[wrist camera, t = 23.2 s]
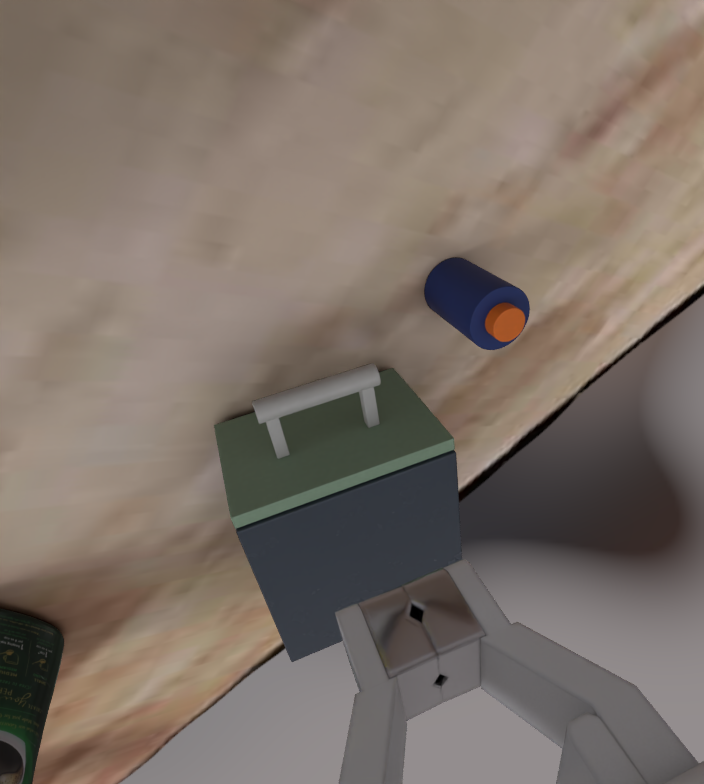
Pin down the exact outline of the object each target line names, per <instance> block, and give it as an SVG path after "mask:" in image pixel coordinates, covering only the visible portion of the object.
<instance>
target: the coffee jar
mask: <svg viewBox="0 0 704 784" xmlns="http://www.w3.org/2000/svg"><path fill="white" fill-rule="evenodd" d="M63 648H64V639H63V636H62V634H61V632H60V631H59V630H58V629H57V628H55V627H54V626H52V625H50V624H48V623H46V622H43V621H41V620H38V619H35V618H33V617H30V616H27V615H23V614H20V613H16V612H12V611H9V610H5V609H0V784H32V782H33V776H34V771H35V766H36V761H37V757H38V752H39V748H40V743H41V739H42V734H43V730H44V726H45V722H46V718H47V714H48V710H49V706H50V703H51V699H52V695H53V692H54V687H55V684H56V680H57V676H58V672H59V668H60V664H61V659H62V653H63Z"/></svg>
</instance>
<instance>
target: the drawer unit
mask: <svg viewBox="0 0 704 784" xmlns="http://www.w3.org/2000/svg"><path fill="white" fill-rule="evenodd" d="M236 533H237V535H238V538H239V540H240V542H241V545H242V547H243V549H244V552H245V554H246V556H247V559H248V561H249V563H250V566H251V568H252V570H253V573H254V575H255V577H256V580H257V582H258V585H259V587H260V589H261V592H262V594H263V596H264V599H265V601H266V603H267V606H268V608H269V610H270V613H271V615H272V617H273V620H274V622H275V624H276V627H277V629H278V631H279V634H280V636H281V638H282V641H283V643H284V645H285V648H286V650H287V653H288V655H289V657H290V660H291V661H292V662H294V661H296V660H298V659H301V658H303V657H305V656H308V655H310V654H312V653H315V652H317V651H320V650H322V649H324V648H327V647H329V646H331V645H334V644H336V643H339V642H341V641H343V640H342V636H341V633H340V629H339V626H338V623H337V619H336V616H335V612H337V611H339V610H342V609H344V608H347V607H349V606H351V605H354V604H356V603H360V602H362V601H365V600H367V599H370V598H372V597H374V596H377V595H379V594H382V593H384V592H387V591H389V590H392V589H394V588H396V587H399V586H401V585H403V584H405V583H407V582H410V581H412V580H414V579H417V578H419V577H421V576H423V575H426V574H428V573H430V572H433V571H435V570H437V569H440V568H443V567H446V566H448V565H450V564H453V563H455V562H457V561H460V560H462V551H461V535H460V534H461V533H460V515H459V496H458V478H457V460H456V452H455V451H454V450H451V451H449V452H446V453H443V454H440V455H438V456H435V457H432V458H429V459H427V460H424V461H421V462H418V463H416V464H413V465H410V466H407V467H405V468H402V469H399V470H396V471H394V472H391V473H388V474H385V475H382V476H380V477H377V478H374V479H371V480H369V481H366V482H363V483H360V484H358V485H355V486H352V487H349V488H347V489H344V490H341V491H338V492H336V493H333V494H330V495H327V496H325V497H322V498H319V499H316V500H314V501H311V502H308V503H305V504H303V505H300V506H297V507H294V508H292V509H289V510H286V511H283V512H280V513H278V514H275V515H272V516H269V517H267V518H264V519H261V520H258V521H256V522H253V523H250V524H247V525H245V526H242V527H239V528H236Z"/></svg>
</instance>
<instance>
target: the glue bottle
mask: <svg viewBox="0 0 704 784" xmlns="http://www.w3.org/2000/svg"><path fill="white" fill-rule="evenodd" d="M425 299H426V302H427V304H428V306H429V307H430V308H431V309H432V310H433V311H434V312H436V313H437V314H438V315H440V316H441V317H442V318H443V319H445V320H446V321H447V322H448V323H450V324H451V325H452V326H453V327H455V328H456V329H457V330H458V331H460V332H461V333H462V334H464V335H465V336H466V337H467V338H469V339H470V340H471V341H472V342H474V343H475V344H476V345H477V346H479V347H481V348H483V349H487V350H495V349H500V348H502V347H505V346H506V345H508V344H510V343H511V342H512V341H514V340H515V339H516V338H517V337H518V336H519V335H520V333H521V332H522V330H523V329H524V327H525V325H526V323H527V320H528V317H529V310H530V308H529V301H528V298H527V296H526V295H525V293H524V292H523V291H522V290H520V289H519V288H517V287H515V286H513V285H511V284H510V283H508V282H506V281H504V280H502V279H500V278H499V277H497V276H495V275H493V274H491V273H489V272H488V271H486V270H484V269H482V268H480V267H478V266H477V265H475V264H473V263H471V262H469V261H467V260H466V259H463V258H450V259H447V260H445V261H443V262H441V263H440V264H438V265H437V266H436V267H435V268H434V269H433V270H432V272H431V273H430V275H429V276H428V279H427V281H426V284H425Z"/></svg>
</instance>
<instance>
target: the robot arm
mask: <svg viewBox="0 0 704 784" xmlns="http://www.w3.org/2000/svg"><path fill="white" fill-rule="evenodd" d="M335 616H336V619H337V623H338V626H339V629H340V633H341V636H342V640H343V643H344V646H345V649H346V653H347V656H348V659H349V662H350V665H351V668H352V671H353V674H354V677H355V680H356V683H357V686H358V688H359V691H360V692H359V693H357V694H355V698H354V704H353V709H352V715H351V720H350V725H349V731H348V737H347V742H346V747H345V752H344V758H343V763H342V769H341V774H340V779H339V784H402V780H403V768H404V756H405V743H406V731H407V722H406V721H408V720H409V719H411V718H413V717H415V716H417V715H419V714H421V713H423V712H425V711H427V710H429V709H431V708H433V707H435V706H437V705H439V704H441V703H443V702H445V701H448V700H450V699H453V698H455V697H457V696H459V695H461V694H464V693H466V692H469V691H471V690H473V689H476V688H478V687H480V686H481V689H483V690H484V691H485V692H487V693H488V694H489V695H491V696H492V697H493V698H495V699H496V700H498V701H499V702H500V703H501V704H503V705H504V706H506V707H507V708H508V709H510V710H511V711H512V712H514V713H515V714H516V715H518V716H519V717H520V718H522V719H523V720H524V721H526V722H527V723H529V724H530V725H531V726H533V727H534V728H535V729H537V730H538V731H539V732H541V733H542V734H543V735H545V736H546V737H547V738H549V739H550V740H551V741H553V742H554V743H555V744H557V745H558V746H560V747H561V748H562V755H561V761H560V766H559V771H558V776H557V782H556V784H704V761H703V762H701V763H698V762H697V760H696V759H695V758H694V757H693V756H692V754H691V753H690V752H689V751H688V749H687V748H686V747H685V746H684V744H683V743H682V742H681V741H680V739H679V738H678V737H677V736H676V735H675V733H674V732H673V731H672V730H671V728H670V727H669V726H668V725H667V723H666V722H665V721H664V720H663V718H662V717H661V716H660V715H659V714H658V712H657V711H656V710H655V709H654V707H653V706H652V705H651V704H650V702H649V701H648V700H647V699H646V698H645V696H644V695H643V694H642V693H641V691H640V690H639V689H638V688H637V686H635V685H634V684H632V683H630V682H628V681H626V680H624V679H622V678H621V677H619V676H617V675H615V674H613V673H611V672H610V671H608V670H606V669H604V668H602V667H600V666H598V665H597V664H595V663H593V662H591V661H589V660H587V659H585V658H584V657H582V656H580V655H578V654H576V653H574V652H572V651H571V650H569V649H567V648H565V647H563V646H561V645H559V644H557V643H556V642H554V641H552V640H550V639H548V638H546V637H545V636H543V635H541V634H539V633H537V632H535V631H533V630H531V629H530V628H528V627H526V626H524V625H522V624H521V623H519V622H516V623H513V624H511V623H510V622H509V620H508V619H507V618H506V616H505V615H504V613H503V612H502V610H501V609H500V607H499V606H498V604H497V603H496V601H495V600H494V598H493V597H492V595H491V594H490V592H489V591H488V589H487V588H486V586H485V585H484V583H483V582H482V581H481V579H480V578H479V576H478V575H477V573H476V572H475V570H474V569H473V567H472V566H471V565H470V563H469V562H467V561H466V560H464V559H462V560H460V561H457V562H455V563H453V564H450V565H448V566H446V567H443V568H440V569H437V570H435V571H433V572H430V573H428V574H426V575H423V576H421V577H419V578H417V579H414V580H412V581H410V582H407V583H405V584H403V585H401V586H399V587H396V588H394V589H392V590H389V591H387V592H384V593H382V594H379V595H377V596H374V597H372V598H370V599H367V600H365V601H362V602H360V603H356V604H354V605H351V606H349V607H347V608H344V609H342V610H339V611H337V612H335Z"/></svg>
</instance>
